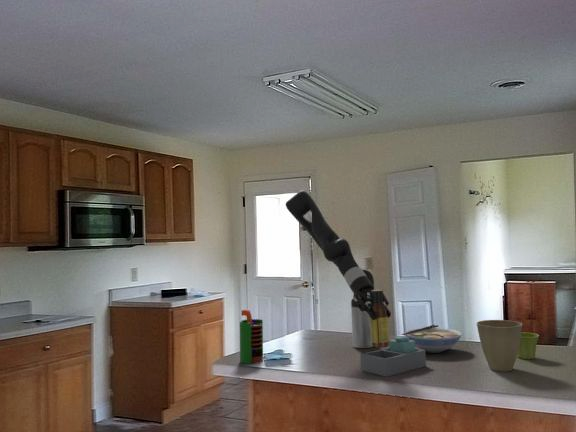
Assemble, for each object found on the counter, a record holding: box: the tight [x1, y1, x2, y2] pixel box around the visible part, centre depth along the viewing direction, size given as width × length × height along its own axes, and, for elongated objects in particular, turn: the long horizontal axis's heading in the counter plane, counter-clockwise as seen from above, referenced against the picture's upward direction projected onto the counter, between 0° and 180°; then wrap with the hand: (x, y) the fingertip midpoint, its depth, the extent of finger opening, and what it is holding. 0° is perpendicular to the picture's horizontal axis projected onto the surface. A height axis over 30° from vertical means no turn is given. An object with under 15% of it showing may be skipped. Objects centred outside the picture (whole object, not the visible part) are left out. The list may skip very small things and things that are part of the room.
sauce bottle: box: [370, 289, 390, 349], centre depth 195 cm, size 6×6×20 cm
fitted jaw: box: [388, 335, 416, 354], centre depth 201 cm, size 6×7×9 cm
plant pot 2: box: [516, 331, 540, 360], centre depth 207 cm, size 9×9×9 cm
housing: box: [359, 347, 427, 377], centre depth 198 cm, size 21×12×6 cm, turn 127°
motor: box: [239, 309, 264, 365], centre depth 217 cm, size 10×9×20 cm
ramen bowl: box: [400, 324, 463, 354], centre depth 224 cm, size 25×23×8 cm
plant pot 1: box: [476, 319, 523, 373], centre depth 192 cm, size 15×15×16 cm
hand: (382, 317), depth 193 cm, fingers closed on sauce bottle, 6 cm apart
